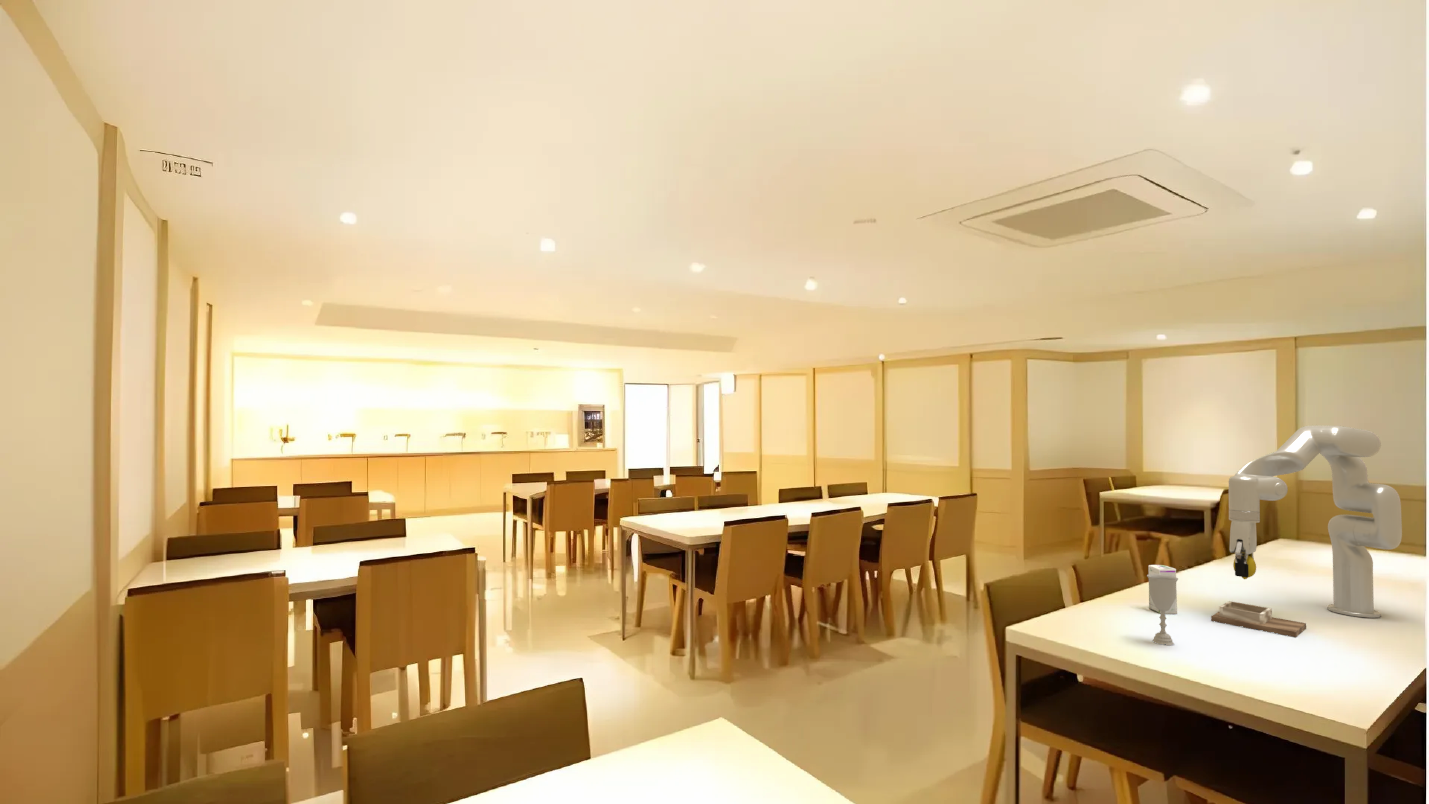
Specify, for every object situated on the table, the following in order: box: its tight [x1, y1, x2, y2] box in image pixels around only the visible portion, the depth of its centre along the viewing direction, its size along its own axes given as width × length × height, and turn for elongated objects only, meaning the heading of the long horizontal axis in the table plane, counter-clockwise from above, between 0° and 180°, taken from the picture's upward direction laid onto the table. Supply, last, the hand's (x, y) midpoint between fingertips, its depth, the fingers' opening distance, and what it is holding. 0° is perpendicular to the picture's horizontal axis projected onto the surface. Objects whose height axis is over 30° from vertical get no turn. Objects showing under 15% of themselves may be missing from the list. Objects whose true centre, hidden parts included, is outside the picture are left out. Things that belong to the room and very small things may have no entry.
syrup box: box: [1148, 564, 1178, 615], centre depth 217 cm, size 6×6×14 cm
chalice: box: [1146, 573, 1179, 646], centre depth 186 cm, size 7×7×18 cm
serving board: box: [1210, 600, 1307, 638], centre depth 204 cm, size 14×20×4 cm
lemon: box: [1232, 555, 1257, 580], centre depth 206 cm, size 6×6×8 cm
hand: (1244, 574), depth 206 cm, fingers closed on lemon, 5 cm apart
